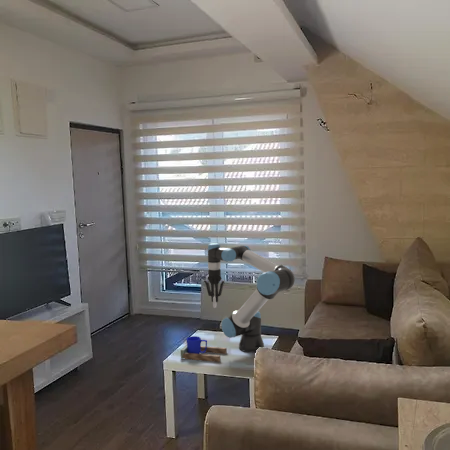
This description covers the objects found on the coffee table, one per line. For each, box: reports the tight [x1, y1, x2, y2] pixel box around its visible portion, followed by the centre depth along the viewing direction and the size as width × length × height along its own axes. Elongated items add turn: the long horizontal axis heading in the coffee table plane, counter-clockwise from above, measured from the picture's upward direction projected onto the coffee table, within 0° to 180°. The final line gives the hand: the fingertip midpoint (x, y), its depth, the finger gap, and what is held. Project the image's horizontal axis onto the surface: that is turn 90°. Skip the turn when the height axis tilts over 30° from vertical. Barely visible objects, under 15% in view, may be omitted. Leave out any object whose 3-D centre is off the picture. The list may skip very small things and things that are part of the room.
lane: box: [180, 344, 227, 363], centre depth 273 cm, size 23×15×5 cm, turn 75°
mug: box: [185, 335, 208, 354], centre depth 274 cm, size 8×12×10 cm
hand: (215, 307), depth 287 cm, fingers closed
